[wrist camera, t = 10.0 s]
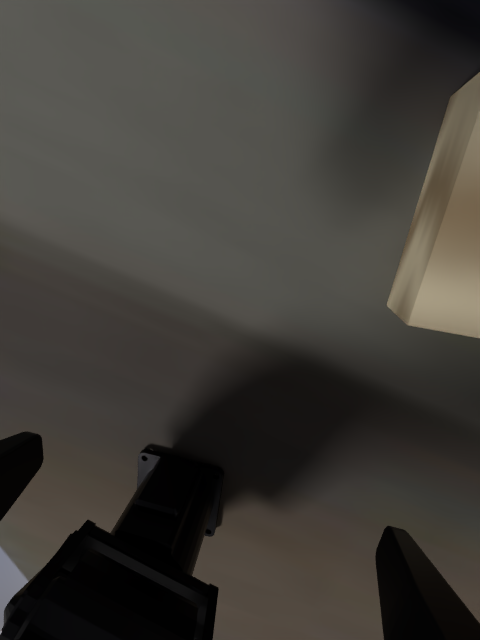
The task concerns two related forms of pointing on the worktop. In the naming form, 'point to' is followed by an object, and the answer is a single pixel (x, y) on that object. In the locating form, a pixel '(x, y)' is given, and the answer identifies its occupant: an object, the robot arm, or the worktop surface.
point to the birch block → (446, 229)
